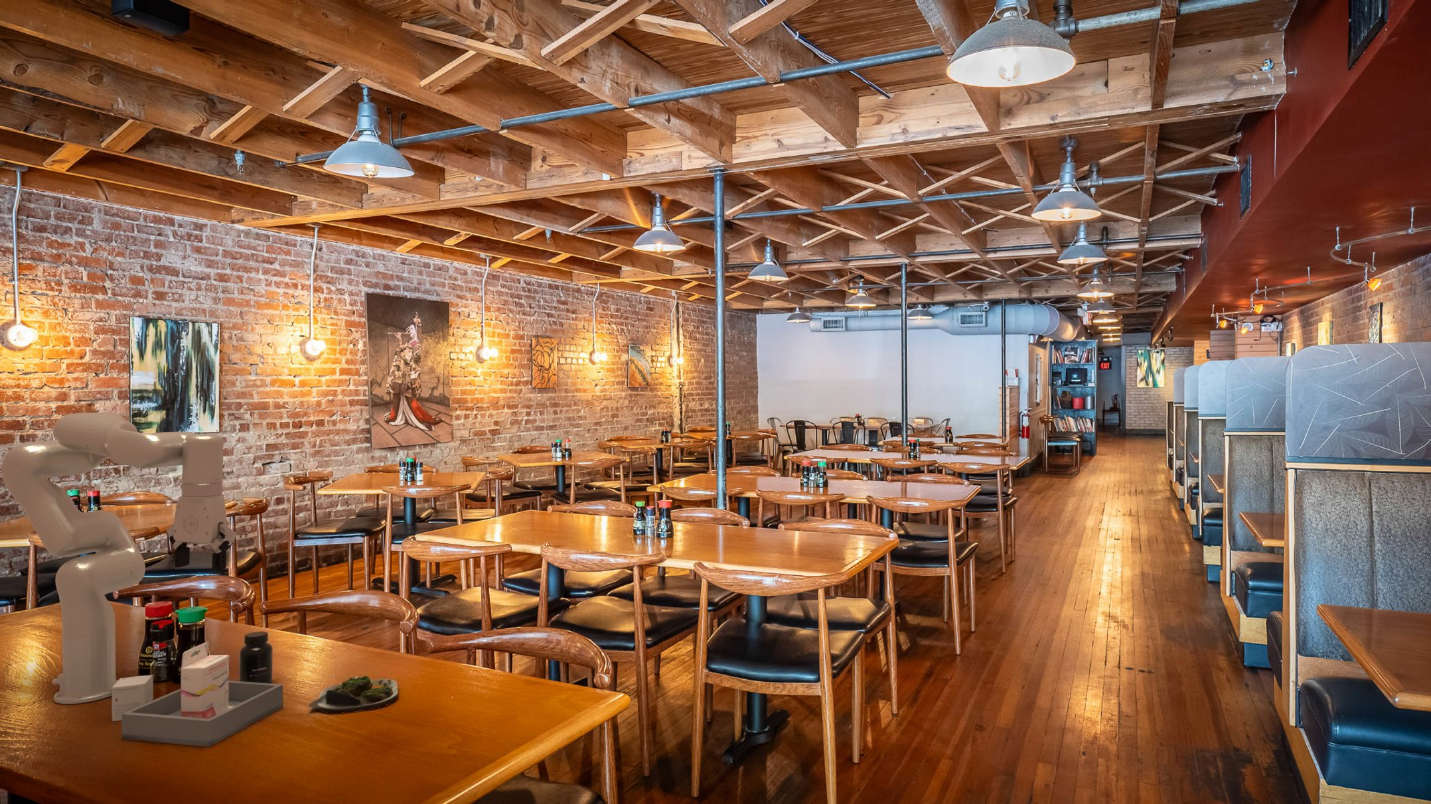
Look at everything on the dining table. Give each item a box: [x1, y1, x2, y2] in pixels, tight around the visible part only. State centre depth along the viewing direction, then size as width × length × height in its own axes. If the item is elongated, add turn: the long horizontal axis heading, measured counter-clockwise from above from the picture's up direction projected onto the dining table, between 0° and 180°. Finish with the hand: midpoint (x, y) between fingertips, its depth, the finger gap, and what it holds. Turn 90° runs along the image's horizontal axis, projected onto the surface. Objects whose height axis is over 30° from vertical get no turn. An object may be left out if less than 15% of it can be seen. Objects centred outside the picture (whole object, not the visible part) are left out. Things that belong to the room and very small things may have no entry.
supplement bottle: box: [238, 631, 274, 684], centre depth 189 cm, size 7×7×12 cm
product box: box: [111, 674, 154, 722], centre depth 172 cm, size 6×6×7 cm
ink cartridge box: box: [180, 641, 230, 719], centre depth 167 cm, size 9×5×15 cm, turn 0°
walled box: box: [121, 680, 284, 748], centre depth 168 cm, size 20×20×5 cm
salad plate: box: [308, 675, 399, 714], centre depth 182 cm, size 19×18×5 cm
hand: (200, 568), depth 177 cm, fingers open, 9 cm apart
